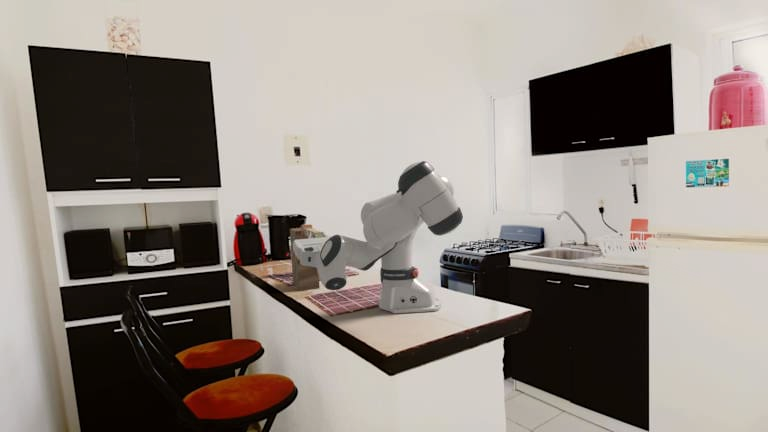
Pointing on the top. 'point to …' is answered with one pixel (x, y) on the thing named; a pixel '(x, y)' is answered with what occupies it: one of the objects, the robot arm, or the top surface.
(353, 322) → the top surface
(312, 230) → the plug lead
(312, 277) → the stand
